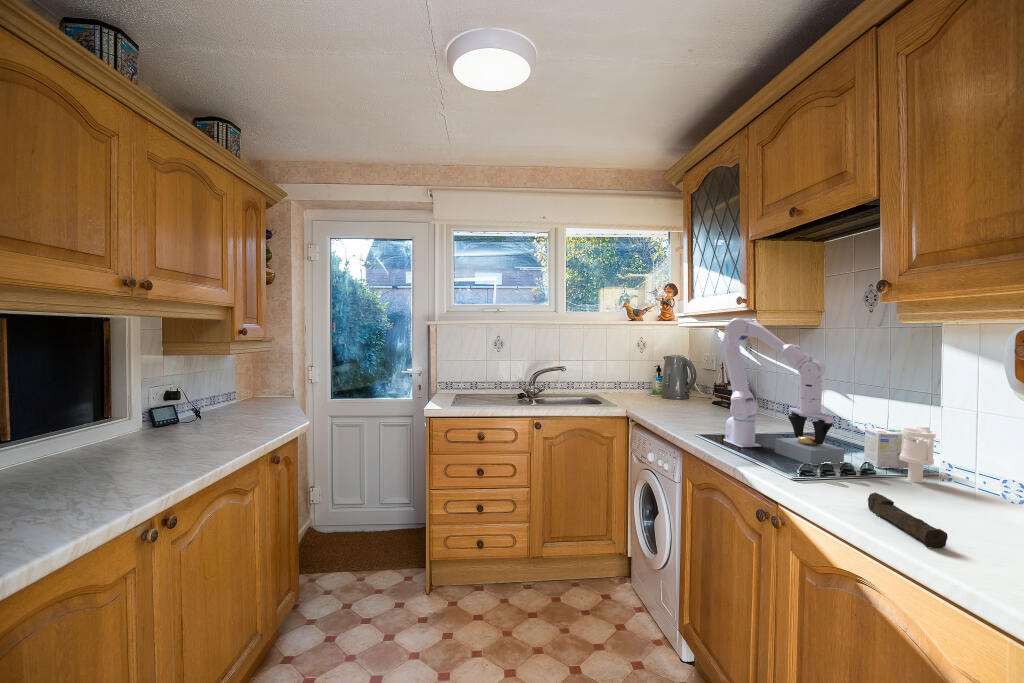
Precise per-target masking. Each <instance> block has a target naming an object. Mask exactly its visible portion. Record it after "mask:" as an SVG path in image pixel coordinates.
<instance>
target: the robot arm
mask: <svg viewBox="0 0 1024 683" xmlns="http://www.w3.org/2000/svg"><path fill="white" fill-rule="evenodd" d="M724 328H725V332H724V336H723V339H722V343H721V346H722V349H723V350H722V351H723V354H724V359H725V364H726V368H727V369H726V370H727V373H728V376H729V382H730V387H731V391H732V394H731V397H730V407H729V408H730V409H729V410H730V414H731V416H730V417H729V418H727V420H726V422H725V436H724V437H725V438H723V440H722V441H724V442H726V443H729V444H732V445H734V446H736V447H740V448H755V447H757V448H758V447H759V448H760V447H761V444H759V443H755V442H756V427H757V426H756V425H757V424H756V421H757V419H756V415H757V414H758V413H759V410H760V406H759V404H758V403H757V401H756V400H755V398H754V395H753V393H752V392H751V391H750V387H749V383H748V379H747V376H746V375H747V374H746V370H745V365H744V361H743V357H742V353H741V348H740V347H741V345H742V344H743V343H744V341H745V340H747V338H757V339H759V340H761V341H762V342H763V343H765V344H766V345H767V346H770V347H771V348H772V349H774V350H775V351H776V352H778V355H779V359H781V360H782V361H783V362H785V363H786V364H788V365H789V366H791V367H792V368H793V369H795V370H796V371H798V374H799V375H800V376H801V378H800V381H801V382H800V394H799V408H797V407H789V408H788V414H789V415H787V419H788V420H789V422H790V424H791V427H792V428H793V433H794V438H798V436H799V435H804V429H805V428H804V427H805V424H806V421H807V419H811V420H814V421H811V422H812V423H811V424H812V425H813V429H814V437H815V444H823V443H825V438H826V436H827V434H828V432H829V431H830V429H831V428H832V427H833V425H834V423H833V422H834V416H832V415H828V414H825V413H822V398H823V376H824V374H825V373H826V366H825V365H824V363H823V362H822V361H821V360H819V359H814V358H815V356H813V355H811V354H810V355H809V354H807V353H806V352H805V351H803V350H802V349H801V346H799V345H798V344H793V343H789V344H786V342H784V341H782V340H781V339H780V338H778V336H776V335H775V334H774V333H772V332H771V331H770V330H768V329H767V328H766V327H765V326H763V325H762V324H760V323H759V322H757V321H755V320H754V319H752V318H748V317H746V318H741V317H735V318H732V319H731V320H730V321H729V322H728V323H727V324H726V325H725V327H724Z"/></svg>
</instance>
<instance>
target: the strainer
mask: <svg viewBox="0 0 1024 683" xmlns="http://www.w3.org/2000/svg"><path fill="white" fill-rule="evenodd" d="M930 429H931V427H930V426H928V425H927V426H926V425H918V426H917V427H916V428H913V427H902V428H900V430H901V433H902V447H901V454H900V456H899V459H901V460H903V461H906V462H909V466H908V470H907V471H908V472H907V481H909V482H911V483H916V484H922V483H923V482H924V481H923V479H924V478H923V477H924V466H933V465H935V464H934V463H935V459H934V446H935V445H934V443H935V438H936V434H937V433H936V432H935V431H931V430H930ZM907 435H908V436H907ZM913 439H914V440H917V442H913Z"/></svg>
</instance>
